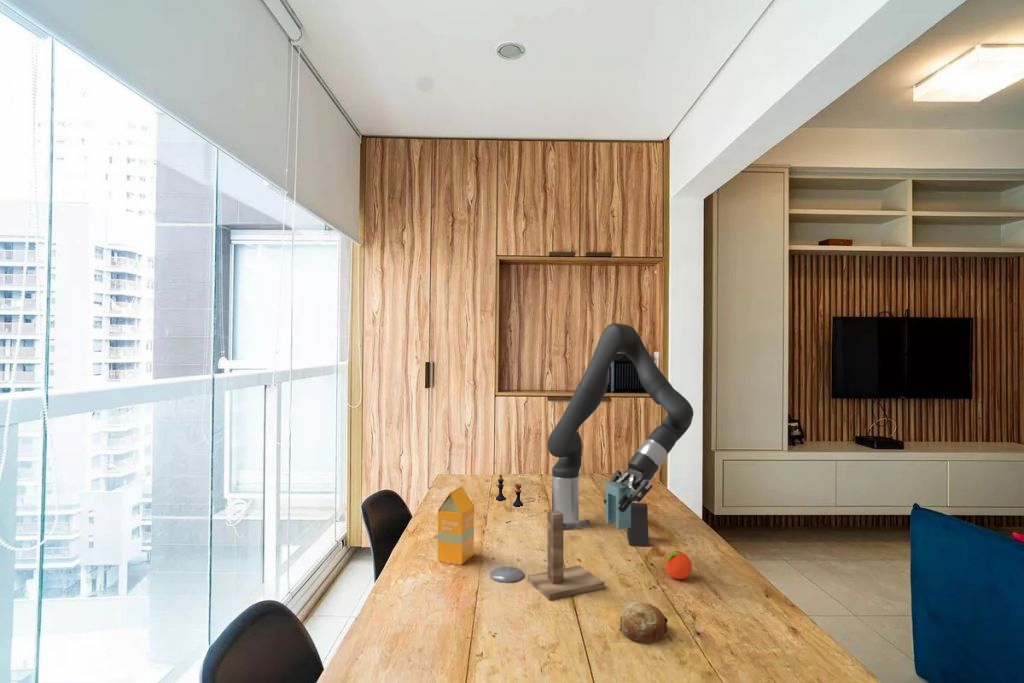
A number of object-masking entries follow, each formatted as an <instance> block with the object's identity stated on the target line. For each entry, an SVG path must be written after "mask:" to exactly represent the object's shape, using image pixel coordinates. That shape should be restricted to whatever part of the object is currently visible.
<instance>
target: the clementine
mask: <svg viewBox="0 0 1024 683" xmlns="http://www.w3.org/2000/svg"><path fill="white" fill-rule="evenodd" d="M664 565H665V566H664V567H665V570H666V572H667V573H668V575H669V576H671V577H672V578H673V579H676V580H677V579H678V580H683V579H687V578H688V577H689V576H690V574H691V573H692V570H693V562H692V561H691V558H690V557H689V556H688V555H687V554H686V553H685V552H683V551H680V550H675V551H672V552H670V553H669V554H667V556H666V557H665V560H664Z"/></svg>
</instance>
